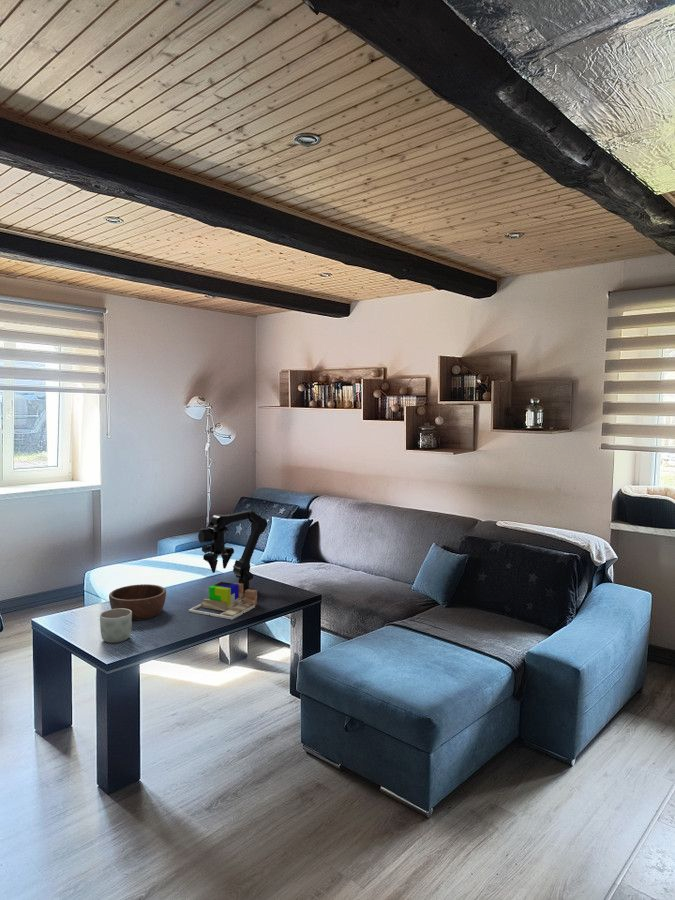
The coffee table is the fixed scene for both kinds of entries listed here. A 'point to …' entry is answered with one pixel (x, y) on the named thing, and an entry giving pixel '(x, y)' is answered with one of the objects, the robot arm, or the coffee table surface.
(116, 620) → the planter
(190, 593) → the coffee table surface
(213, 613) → the frame
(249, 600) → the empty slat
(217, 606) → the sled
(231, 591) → the puzzle toy
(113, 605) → the wooden bowl
